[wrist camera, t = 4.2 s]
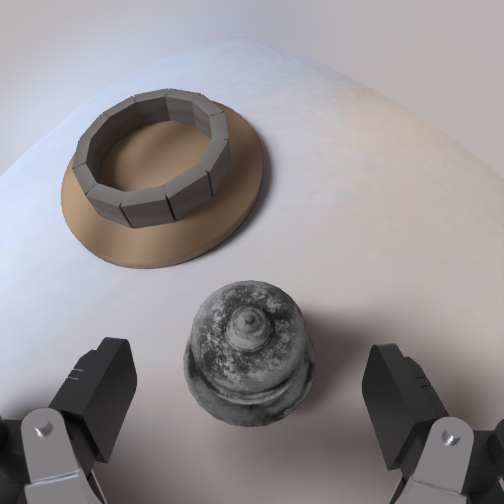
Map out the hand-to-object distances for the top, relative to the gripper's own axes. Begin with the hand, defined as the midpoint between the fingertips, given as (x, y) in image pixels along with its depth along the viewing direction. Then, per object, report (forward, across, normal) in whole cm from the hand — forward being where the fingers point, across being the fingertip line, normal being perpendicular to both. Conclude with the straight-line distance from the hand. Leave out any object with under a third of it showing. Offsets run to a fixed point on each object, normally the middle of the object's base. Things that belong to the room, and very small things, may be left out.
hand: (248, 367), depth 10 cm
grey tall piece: (+6, 0, +5) cm, 8 cm away
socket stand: (+15, +7, -4) cm, 17 cm away
